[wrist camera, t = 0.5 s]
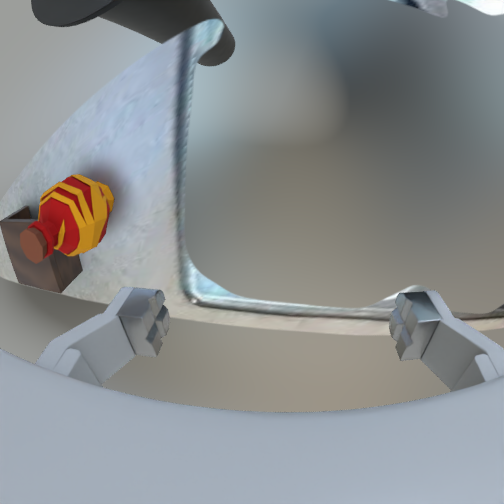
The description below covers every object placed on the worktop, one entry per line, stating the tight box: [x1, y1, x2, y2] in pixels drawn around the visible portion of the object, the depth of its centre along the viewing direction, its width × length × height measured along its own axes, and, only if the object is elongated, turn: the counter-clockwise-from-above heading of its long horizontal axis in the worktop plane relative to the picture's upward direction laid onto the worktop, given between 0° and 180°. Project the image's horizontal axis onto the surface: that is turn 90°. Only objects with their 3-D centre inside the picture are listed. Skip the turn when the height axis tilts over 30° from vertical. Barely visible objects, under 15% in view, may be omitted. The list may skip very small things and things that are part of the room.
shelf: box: [0, 206, 83, 293], centre depth 36 cm, size 12×12×7 cm
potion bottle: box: [20, 174, 114, 264], centre depth 29 cm, size 10×10×15 cm
